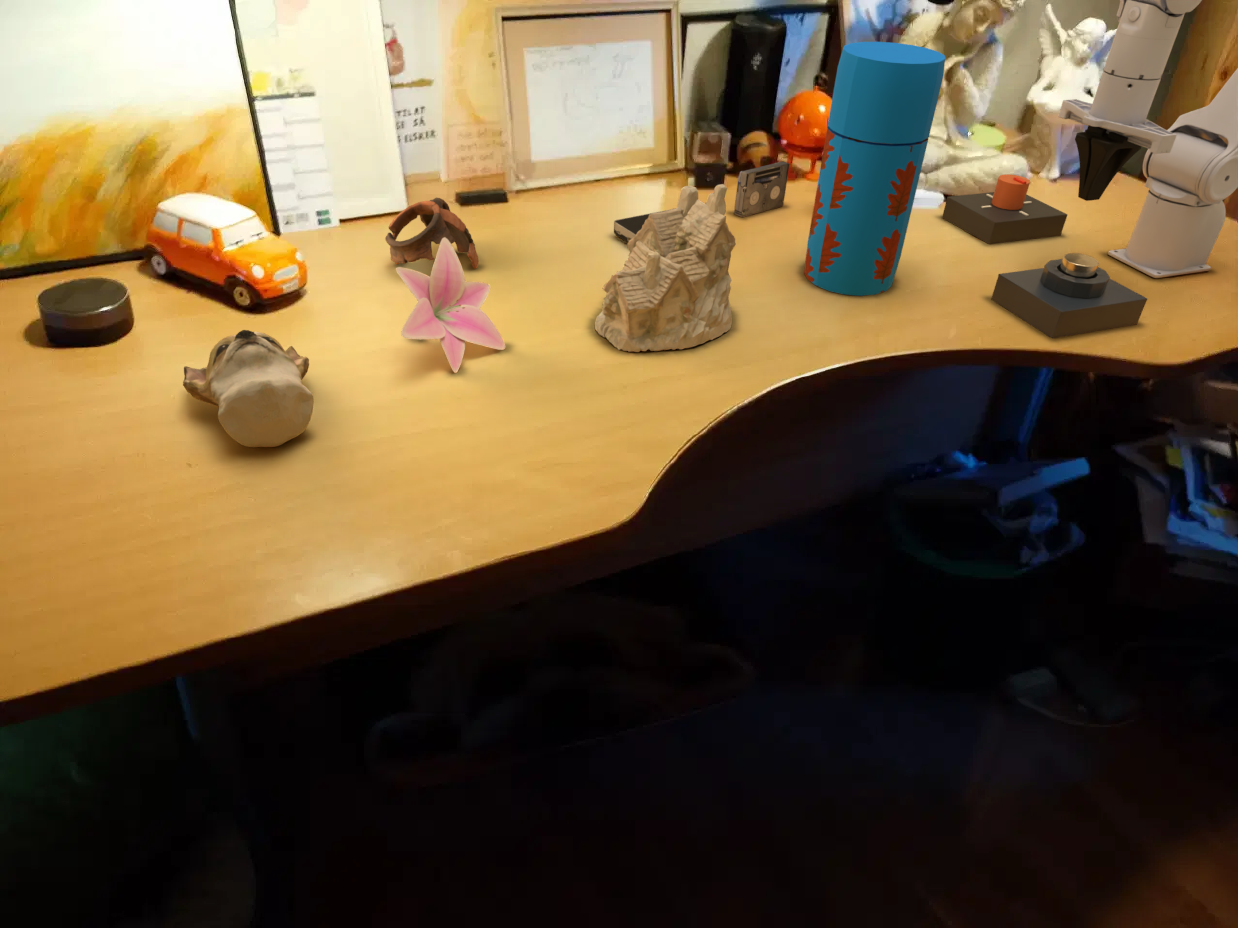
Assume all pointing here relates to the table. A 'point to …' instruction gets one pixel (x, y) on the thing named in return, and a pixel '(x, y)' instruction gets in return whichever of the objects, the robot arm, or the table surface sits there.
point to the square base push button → (1067, 300)
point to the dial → (1010, 192)
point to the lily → (449, 307)
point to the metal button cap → (1079, 266)
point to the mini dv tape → (761, 189)
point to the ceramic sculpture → (254, 389)
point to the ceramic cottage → (673, 279)
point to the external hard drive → (630, 226)
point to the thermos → (871, 164)
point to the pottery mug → (429, 232)
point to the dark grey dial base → (1003, 218)
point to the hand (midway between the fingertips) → (1088, 198)
